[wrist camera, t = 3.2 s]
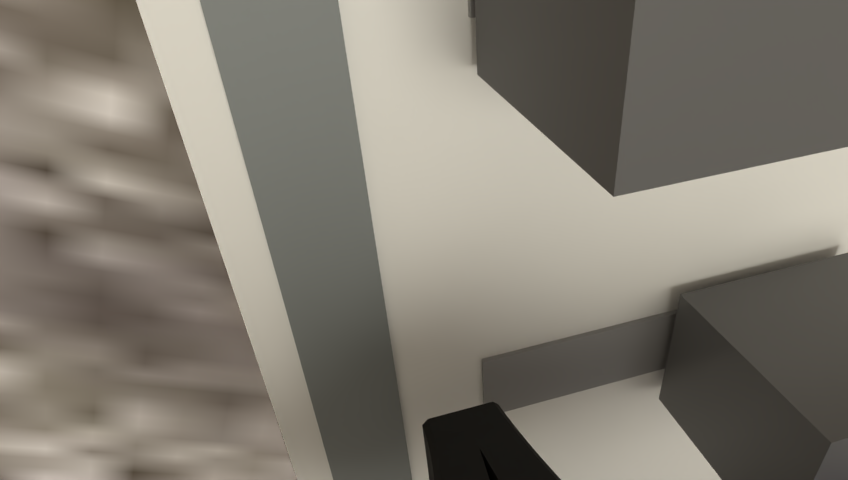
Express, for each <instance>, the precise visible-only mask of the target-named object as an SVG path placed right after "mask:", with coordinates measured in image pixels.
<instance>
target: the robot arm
mask: <svg viewBox="0 0 848 480" xmlns="http://www.w3.org/2000/svg"><path fill="white" fill-rule="evenodd" d="M422 427H423V435H424V443H425V450H426V458H427V466H428V473H429V480H561V479H560V478H559V477H558V476H557V475H556V474H555V472H554V471H553V470H552V469H551V468H550V467H549V466H548V465H547V464H546V462H545V461H544V460H543V459H542V458H541V457H540V456H539V454H538V453H537V452H536V451H535V450H534V449H533V447H532V446H531V445H530V444H529V443H528V442H527V440H526V439H525V438H524V437H523V435H522V434H521V433H520V432H519V431H518V429H517V428H516V427H515V426H514V424H513V423H512V422H511V420H510V419H509V418H508V417H507V415H506V414H505V413H504V411H503V410H502V408H501V407H500V406H499V404H497V403H495V402H489V403H486V404H482V405H478V406H474V407H471V408H467V409H463V410H459V411H456V412H452V413H448V414H444V415H441V416H437V417H433V418H429V419H427V420H426V421H425V422H424V424H423V425H422Z"/></svg>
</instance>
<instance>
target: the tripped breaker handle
mask: <svg viewBox="0 0 848 480" xmlns="http://www.w3.org/2000/svg"><path fill="white" fill-rule="evenodd" d="M659 400H660V401H661V402H662V404H663V405H664V406H665V407H666V409H667V410H668V411H669V413H670V414H671V415H672V416H673V418H674V419H675V420H676V422H677V423H678V424H679V425H680V427H681V428H682V429H683V431H684V432H685V433H686V434H687V436H688V437H689V438H690V440H691V441H692V442H693V443H694V445H695V446H696V447H697V449H698V450H699V451H700V452H701V454H702V455H703V456H704V458H705V459H706V460H707V461H708V463H709V464H710V465H711V467H712V468H713V469H714V470H715V472H716V473H717V474H718V476H719V477H720V478H721V479H722V480H848V253H844V254H840V255H836V256H832V257H828V258H824V259H820V260H816V261H812V262H808V263H804V264H800V265H796V266H792V267H788V268H784V269H780V270H776V271H772V272H768V273H764V274H760V275H756V276H752V277H748V278H744V279H740V280H736V281H732V282H728V283H724V284H720V285H716V286H712V287H708V288H704V289H700V290H696V291H692V292H688V293H684V294H680V298H679V303H678V308H677V313H676V318H675V322H674V327H673V332H672V337H671V342H670V347H669V351H668V356H667V361H666V366H665V371H664V376H663V380H662V385H661V390H660V395H659Z"/></svg>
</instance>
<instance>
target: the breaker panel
mask: <svg viewBox="0 0 848 480" xmlns="http://www.w3.org/2000/svg"><path fill="white" fill-rule="evenodd" d="M136 2H137V5H138V8H139V11H140V14H141V17H142V20H143V23H144V26H145V29H146V32H147V35H148V38H149V41H150V44H151V47H152V50H153V53H154V56H155V59H156V62H157V65H158V68H159V71H160V74H161V77H162V79H163V82H164V85H165V88H166V91H167V94H168V97H169V100H170V103H171V106H172V109H173V112H174V115H175V118H176V121H177V124H178V127H179V130H180V133H181V136H182V139H183V142H184V145H185V148H186V151H187V154H188V157H189V160H190V163H191V166H192V169H193V172H194V175H195V178H196V181H197V184H198V187H199V190H200V193H201V196H202V199H203V202H204V204H205V207H206V210H207V213H208V216H209V219H210V222H211V225H212V228H213V231H214V234H215V237H216V240H217V243H218V246H219V249H220V252H221V255H222V258H223V261H224V264H225V267H226V270H227V273H228V276H229V279H230V282H231V285H232V288H233V291H234V294H235V297H236V300H237V303H238V306H239V309H240V312H241V315H242V318H243V321H244V324H245V327H246V330H247V332H248V335H249V338H250V341H251V344H252V347H253V350H254V353H255V356H256V359H257V362H258V365H259V368H260V371H261V374H262V377H263V380H264V383H265V386H266V389H267V392H268V395H269V398H270V401H271V404H272V407H273V410H274V413H275V416H276V419H277V422H278V425H279V428H280V431H281V434H282V437H283V440H284V443H285V446H286V449H287V452H288V455H289V458H290V460H291V463H292V466H293V469H294V472H295V475H296V478H297V480H429V473H428V466H427V458H426V450H425V443H424V435H423V427H422V425H423V424H424V422H425V421H426V420H427V419H429V418H433V417H437V416H441V415H444V414H448V413H452V412H456V411H459V410H463V409H467V408H471V407H474V406H478V405H482V404H486V403H489V402H495V403H497V404H499V406H500V407H501V408H502V410H503V411H504V413H505V414H506V415H507V417H508V418H509V419H510V420H511V422H512V423H513V424H514V426H515V427H516V428H517V429H518V431H519V432H520V433H521V434H522V435H523V437H524V438H525V439H526V440H527V442H528V443H529V444H530V445H531V446H532V447H533V449H534V450H535V451H536V452H537V453H538V454H539V456H540V457H541V458H542V459H543V460H544V461H545V462H546V464H547V465H548V466H549V467H550V468H551V469H552V470H553V471H554V472H555V474H556V475H557V476H558V477H559V478H560V479H561V480H722V479H721V478H720V477H719V476H718V474H717V473H716V472H715V470H714V469H713V468H712V467H711V465H710V464H709V463H708V461H707V460H706V459H705V458H704V456H703V455H702V454H701V452H700V451H699V450H698V449H697V447H696V446H695V445H694V443H693V442H692V441H691V440H690V438H689V437H688V436H687V434H686V433H685V432H684V431H683V429H682V428H681V427H680V425H679V424H678V423H677V422H676V420H675V419H674V418H673V416H672V415H671V414H670V413H669V411H668V410H667V409H666V407H665V406H664V405H663V404H662V402H661V401H660V400H659V395H660V390H661V385H662V380H663V376H664V371H665V366H666V361H667V356H668V351H669V347H670V342H671V337H672V332H673V327H674V322H675V318H676V313H677V308H678V303H679V298H680V294H684V293H688V292H692V291H696V290H700V289H704V288H708V287H712V286H716V285H720V284H724V283H728V282H732V281H736V280H740V279H744V278H748V277H752V276H756V275H760V274H764V273H768V272H772V271H776V270H780V269H784V268H788V267H792V266H796V265H800V264H804V263H808V262H812V261H816V260H820V259H824V258H828V257H832V256H836V255H840V254H844V253H848V0H136Z"/></svg>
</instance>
